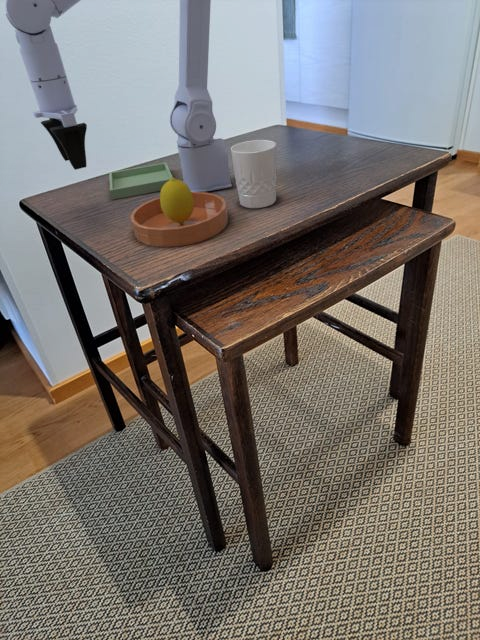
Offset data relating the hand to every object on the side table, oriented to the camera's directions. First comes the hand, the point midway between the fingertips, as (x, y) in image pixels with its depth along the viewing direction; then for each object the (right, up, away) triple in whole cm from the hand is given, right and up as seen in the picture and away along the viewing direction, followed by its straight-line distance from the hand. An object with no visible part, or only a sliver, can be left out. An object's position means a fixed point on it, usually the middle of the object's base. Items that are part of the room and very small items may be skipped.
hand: (75, 163), depth 81 cm
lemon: (+20, -12, -3) cm, 23 cm away
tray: (+8, +2, +18) cm, 20 cm away
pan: (+20, -12, -3) cm, 23 cm away
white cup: (+33, -6, +3) cm, 34 cm away
